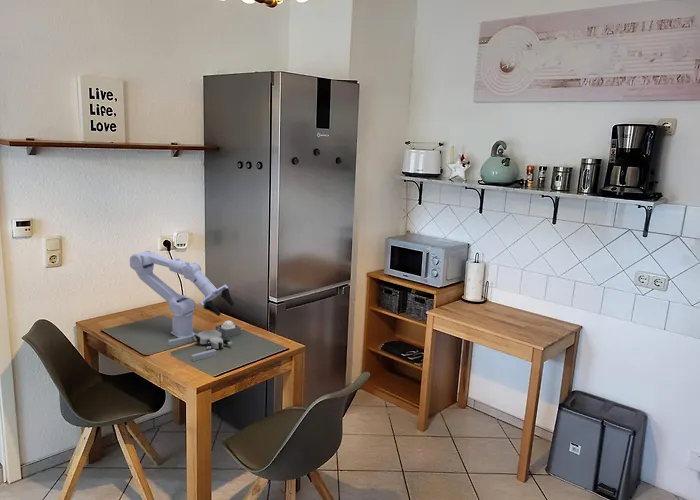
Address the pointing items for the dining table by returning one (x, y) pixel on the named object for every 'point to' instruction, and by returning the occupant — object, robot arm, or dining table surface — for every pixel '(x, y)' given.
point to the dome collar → (229, 331)
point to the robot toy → (211, 339)
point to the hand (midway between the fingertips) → (226, 309)
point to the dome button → (228, 325)
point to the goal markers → (194, 356)
